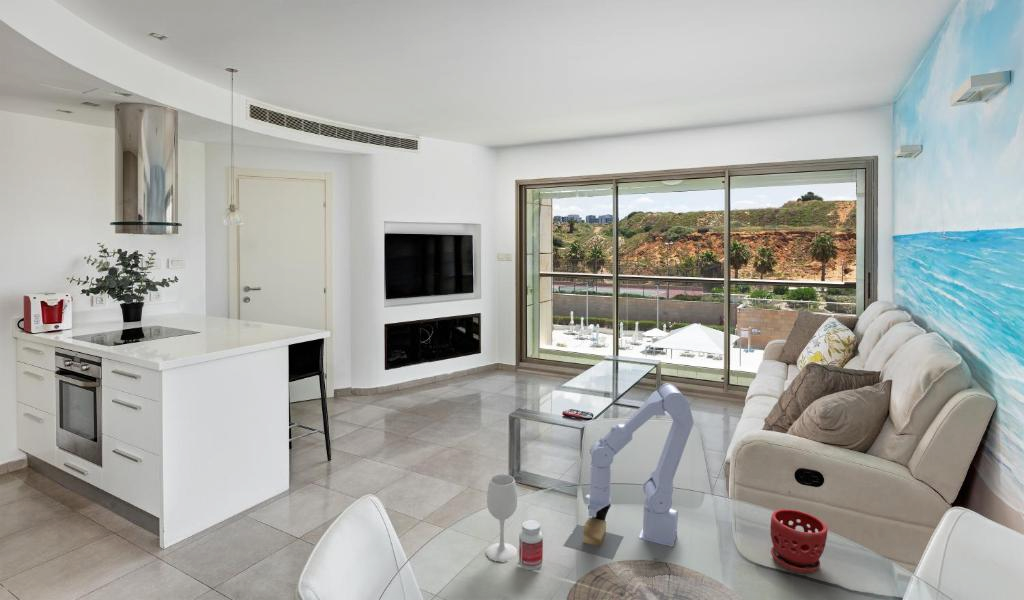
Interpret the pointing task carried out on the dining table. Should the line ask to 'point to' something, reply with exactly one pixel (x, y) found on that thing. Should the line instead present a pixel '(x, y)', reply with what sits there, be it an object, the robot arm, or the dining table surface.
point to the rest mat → (606, 549)
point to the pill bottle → (530, 545)
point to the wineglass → (502, 513)
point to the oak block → (594, 531)
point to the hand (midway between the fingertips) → (598, 528)
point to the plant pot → (797, 540)
